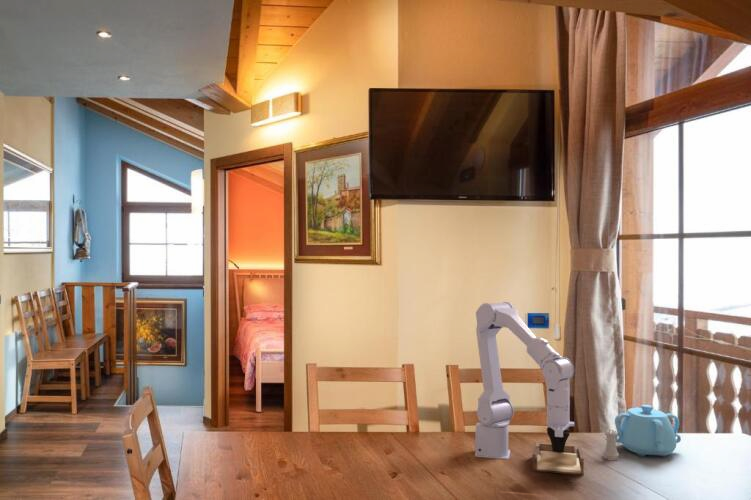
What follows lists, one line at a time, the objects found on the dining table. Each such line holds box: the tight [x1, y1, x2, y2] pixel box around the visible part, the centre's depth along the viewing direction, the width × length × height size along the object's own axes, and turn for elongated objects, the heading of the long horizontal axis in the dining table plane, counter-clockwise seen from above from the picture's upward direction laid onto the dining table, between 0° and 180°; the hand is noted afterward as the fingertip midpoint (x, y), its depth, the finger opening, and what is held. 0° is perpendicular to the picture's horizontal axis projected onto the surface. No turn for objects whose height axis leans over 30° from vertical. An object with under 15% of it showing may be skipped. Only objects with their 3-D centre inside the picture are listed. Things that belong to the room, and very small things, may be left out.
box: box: [532, 441, 585, 476], centre depth 169 cm, size 13×11×5 cm
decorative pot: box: [614, 404, 682, 458], centre depth 183 cm, size 16×16×14 cm
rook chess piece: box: [602, 429, 620, 461], centre depth 176 cm, size 4×4×8 cm
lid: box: [537, 451, 581, 473], centre depth 161 cm, size 11×10×3 cm
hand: (558, 456), depth 162 cm, fingers closed
